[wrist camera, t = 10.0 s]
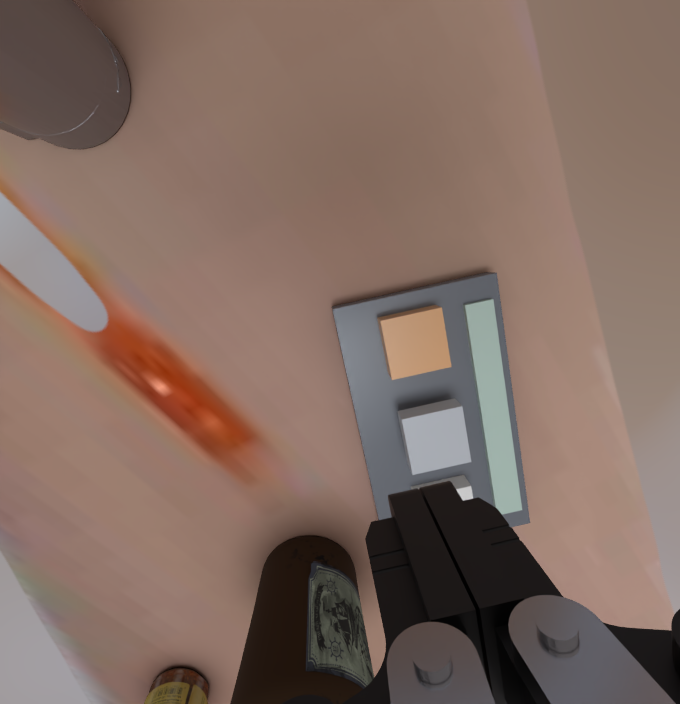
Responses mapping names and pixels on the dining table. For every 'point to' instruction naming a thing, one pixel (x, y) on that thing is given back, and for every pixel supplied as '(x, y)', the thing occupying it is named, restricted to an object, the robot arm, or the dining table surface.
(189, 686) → the sauce bottle
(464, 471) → the keypad board
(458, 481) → the key white
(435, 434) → the key grey
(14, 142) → the dining table surface
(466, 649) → the robot arm
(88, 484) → the dining table surface
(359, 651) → the dark brown glass bottle
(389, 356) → the key orange
